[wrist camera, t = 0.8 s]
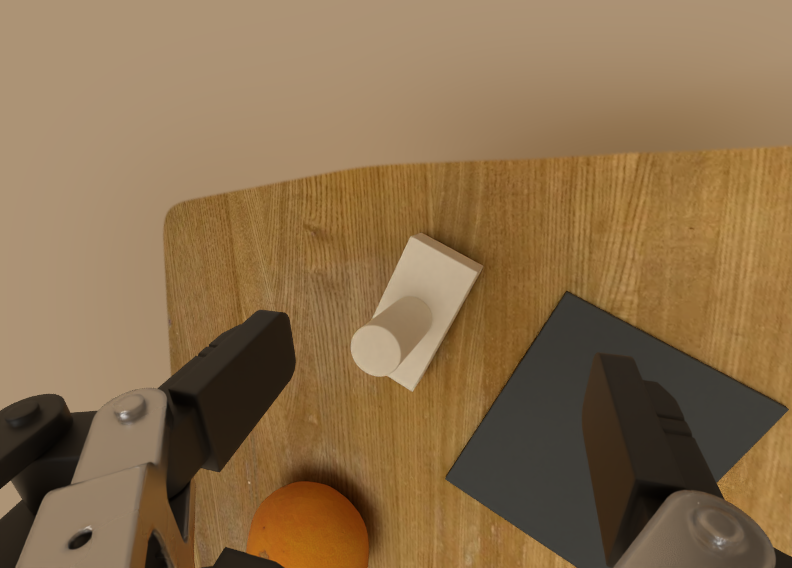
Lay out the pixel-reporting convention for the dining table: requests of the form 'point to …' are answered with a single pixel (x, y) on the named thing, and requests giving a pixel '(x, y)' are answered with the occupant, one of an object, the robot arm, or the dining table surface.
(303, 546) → the fruit
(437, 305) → the cream block with cylinder
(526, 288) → the dining table surface
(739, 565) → the robot arm
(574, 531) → the scrub mat
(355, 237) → the dining table surface
